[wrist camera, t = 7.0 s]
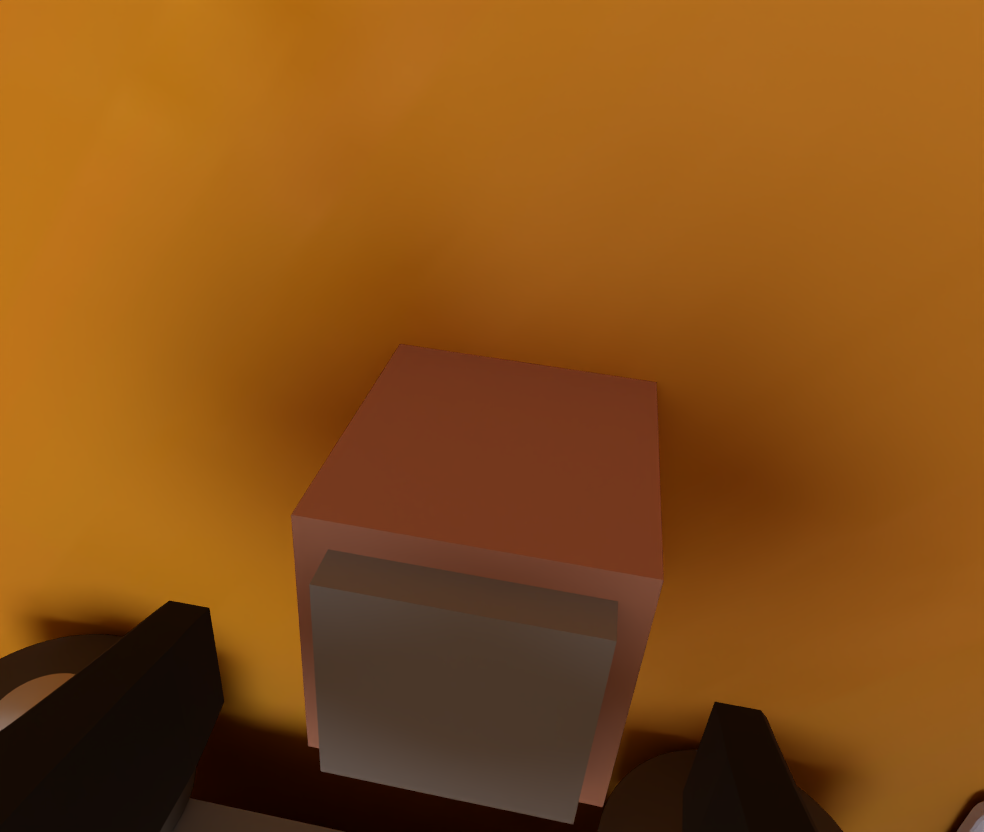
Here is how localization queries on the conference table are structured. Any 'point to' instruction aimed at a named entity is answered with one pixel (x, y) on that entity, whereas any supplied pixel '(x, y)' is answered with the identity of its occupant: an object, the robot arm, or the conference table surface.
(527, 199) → the conference table surface
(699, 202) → the conference table surface
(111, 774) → the robot arm
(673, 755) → the chassis
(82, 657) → the loose wheel
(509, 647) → the brown capped block
